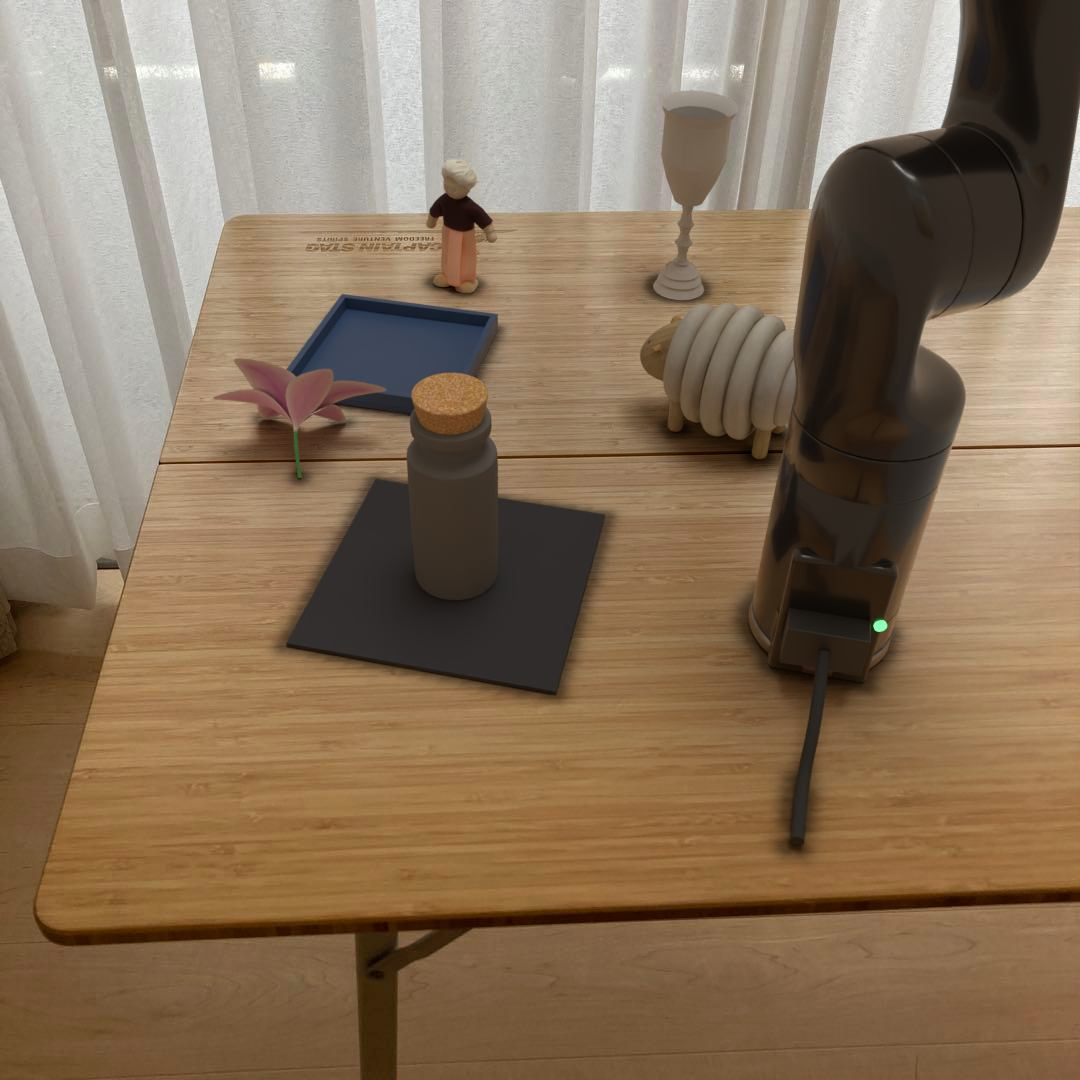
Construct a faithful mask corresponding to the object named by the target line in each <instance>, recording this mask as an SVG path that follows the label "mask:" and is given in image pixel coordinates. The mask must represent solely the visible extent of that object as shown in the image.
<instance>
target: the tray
mask: <svg viewBox="0 0 1080 1080" xmlns="http://www.w3.org/2000/svg"><path fill="white" fill-rule="evenodd" d="M498 331H499V314H498V313H494V312H493V313H491V312H486V311H477V310H470V309H463V308H454V307H446V306H438V305H431V304H425V303H416V302H409V301H408V302H407V301H399V300H392V299H384V298H378V297H369V296H361V295H353V294H346V293H341V294H340V296H339V297H338V299H336V301H335V302H334V304H333V305H332V307H331V308H330V309H329V310H328V312H327V313H326V315H324V318H322V320H321V321H320V323H318V326H317V327H316V328H315V329H314V331H313V332H312V334H311V335H310V336H309V338H308V339H307V341H306V342H305V343H304V344H303V346H302V347H301V348H300V350H299V352H298V353H297V354H296V355H295V357H294V358H293V359H292V361H291V362H290V364H288V366H287V367H286V368H285V369H286V370H288V371H289V372H291V373H292V374H294V375H295V376H296V377H297V376H299V375H301V374H304V373H307V372H310V371H315V370H319V369H331V370H332V371H333V382H335V381H357V382H363V383H368V384H373V385H377V386H380V387H384V388H385V389H387V390H386V391H382V392H377V393H370V394H364V395H358V396H354V397H350V398H347V399H344V400H341V401H338V402H336V403H335V404H337V405H338V404H339V405H346V406H352V407H359V408H366V409H373V410H381V411H387V412H394V413H399V414H407V415H411V413H412V411H413V410H414V409H415V407H414V404H413V401H412V398H411V394H412V390H413V388H414V387H415V385H416V384H417V383H418V382H420V381H421V380H423V379H424V378H427V377H429V376H432V375H436V374H441V373H462V374H466V375H469V376H472V377H475V378H476V376H477V374H478V372H479V370H480V367H481V365H482V363H483V361H484V359H485V357H486V355H487V353H488V351H489V349H490V347H491V345H492V343H493V341H494V339H495V337H496V334H497V332H498Z"/></svg>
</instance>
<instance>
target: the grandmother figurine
mask: <svg viewBox="0 0 1080 1080" xmlns="http://www.w3.org/2000/svg"><path fill="white" fill-rule="evenodd" d="M440 172H441V173H440V174H441V176H442V178H443V190H444V193H442V194H441V195H440V196H439V197H437V198H436V199H435V200H434V202H433V203H432V205H431V206H430V208H429V211H428V214H427V215H428V216H427V219H426V221H425V226H426V227H427V228H428V229H434V228H436V226H437V223H438V221H439V219H440V218H441V217H442V226H441V255H440V258H441V259H440V271H441V273H438V274H436V275H435V276H434V278H433V280H432V281H433V282H432V283H433V284H434V286H437V287H440V288H446V287H447V288H448V287H450V286H452V287H455V288H454V289H455V291H456V292H458V293H462V294H472V293H473V292H475V291H476V289H477V288H478V286H479V280H478V279H477V263H478V252H477V240H476V239H477V238H476V226H477V227H478V228H479V229H481V230H482V232H483V233H484V234H485V239H486V241H487V243H490V244H493V243H495V242H496V241H497V239H498V235H497V233H496V232H495V227H494V225H493V221H494V220H493V219H492V217H491V216H490V215H489V214H488V213H487V212H486V210H485V209H484V208H483V207H482V206H480V204H478V202H475V201H474V200H473V198H471V197H470V196H468V194H469V193H470V192H471V190H472V189H473V188H474V187H475V186H476V185H477V184H478V183H479V179H478V177H477V174H476V172H475V171H474V169H473V168H472V166H471V165H469V163H468V162H467V161H466V160H464V159H456V158H450V159H447V160H446V161H445V162H444V163H443V164H442V166H441V171H440ZM475 225H476V226H475Z"/></svg>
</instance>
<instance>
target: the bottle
mask: <svg viewBox="0 0 1080 1080" xmlns="http://www.w3.org/2000/svg"><path fill="white" fill-rule="evenodd" d="M411 398H412V401H413V404H414V407H415V409H414V410H413V411H412V413H411V414H410V416H409V430H410V434H411V436H412V438H413V439H412V440H411V441H410V443H409V445H408V446H407V449H406V469H407V471H406V472H407V484H408V488H409V501H410V515H411V529H412V542H413V554H414V565H415V574H416V579H417V581H418V583H419V585H420V586H421V588H422V589H423V590H425V591H426V592H427V593H429V594H430V595H432V596H434V597H437V598H441V599H445V600H465V599H470V598H474V597H476V596H478V595H481V594H483V593H484V592H486V591H487V590H488V589H489V588H491V586H492V585H493V584H494V582H495V580H496V578H497V575H498V498H499V461H498V459H499V458H498V448H497V446H496V444H495V442H494V440H493V439H492V438H491V437H490V435H491V433H492V427H493V425H492V421H493V420H492V415H491V411H490V410H489V409H488V407H487V403H488V399H489V391H488V388H487V385H486V384H485V383H483V381H481V380H480V379H478V378H477V377H476V376H475V377H472V376H469V375H466V374H462V373H441V374H436V375H432V376H429V377H427V378H424V379H423V380H421V381H420V382H418V383H417V384H416V385H415V387H414V388H413V390H412V394H411Z"/></svg>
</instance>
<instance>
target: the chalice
mask: <svg viewBox="0 0 1080 1080" xmlns="http://www.w3.org/2000/svg"><path fill="white" fill-rule="evenodd" d="M660 104H661V107H662V111H663V113H664V120H663V130H662V132H663V133H662V142H661V152H660V156H661V160H662V165H663V168H664V169H663V170H664V174H665V179H666V181H667V184H668V187H669V190H670V192H671V195H672V198H673V200H674V202H675V203H677V204H678V205H680V206H681V208H682V209H681V210H682V213H681V216H680V218H679V220H678V221H677V225H678V228H679V235H678V237H677V238H676V239H675V240H674V244H675V245H676V247H677V254H676V257H675V258H674V259H673V260H670V261H669V262H667V263H665V265H664V266H663V267H662V268H661V271H660V272H659V274H657V275H658V276H657V279H656V280H655V281H654V282H653V284H652V286H653V287H652V289H653V290H654V292H655V293H656V294H658V295H659V296H661V297H662V298H666V299H669V300H673V301H691V300H694V299H697V298H700V297H701V296H702V295H703V294H704V292H705V288H704V286H703V283H702V278H701V275H700V271H699V268H697V266H696V264H694V263H693V262H692V261H690V260H689V259H688V252H689V249H690V247H691V246H692V245H693V241H692V239H691V237H690V233H691V230H692V229H693V227H694V226H695V223H694V221H693V215H692V214H693V210H694V208H695V207H698V206H702V204H703V203H704V202H705V200H706V198H707V197H708V195H709V194H710V192H711V191H712V189H713V188H714V187H715V185H716V183H717V181H718V180H719V177H720V175H721V173H722V170H723V169H724V166H725V165H726V163H727V157H728V149H729V141H730V133H731V127H732V126H731V125H732V121H733V119H734V118H735V116H736V115H737V113H738V111H739V106H738V104H737V102H735V100H733V99H731V98H730V97H727V96H725V95H722V94H719V93H715V92H710V91H704V90H678V91H673V92H670V93H667V94H666V95H664V96H662V97H661V99H660Z"/></svg>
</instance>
